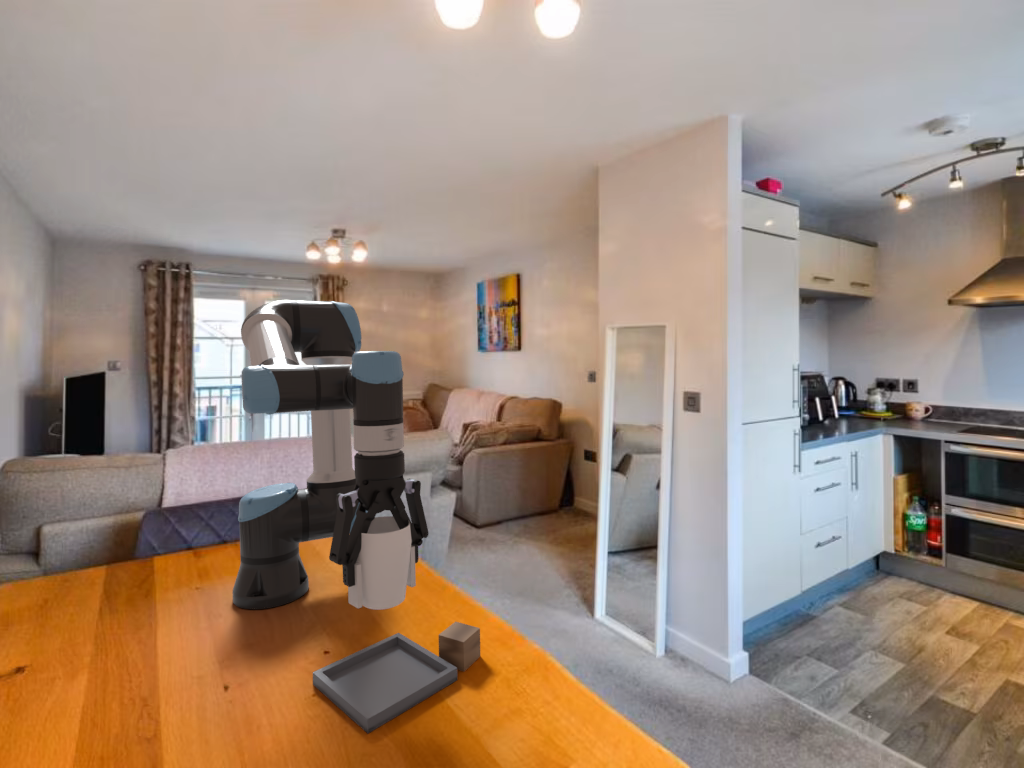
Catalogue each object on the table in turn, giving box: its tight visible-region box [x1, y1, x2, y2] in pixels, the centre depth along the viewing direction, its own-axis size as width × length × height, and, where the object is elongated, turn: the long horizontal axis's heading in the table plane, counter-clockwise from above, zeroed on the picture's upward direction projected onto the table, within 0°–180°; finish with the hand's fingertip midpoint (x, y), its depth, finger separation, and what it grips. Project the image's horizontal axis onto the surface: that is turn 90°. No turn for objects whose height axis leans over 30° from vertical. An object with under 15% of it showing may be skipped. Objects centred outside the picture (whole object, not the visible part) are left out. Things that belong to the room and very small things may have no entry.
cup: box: [356, 515, 412, 611], centre depth 81 cm, size 9×9×12 cm
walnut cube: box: [438, 621, 481, 673], centre depth 88 cm, size 5×5×5 cm
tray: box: [312, 632, 458, 734], centre depth 82 cm, size 16×16×2 cm
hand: (383, 594), depth 82 cm, fingers closed on cup, 9 cm apart
